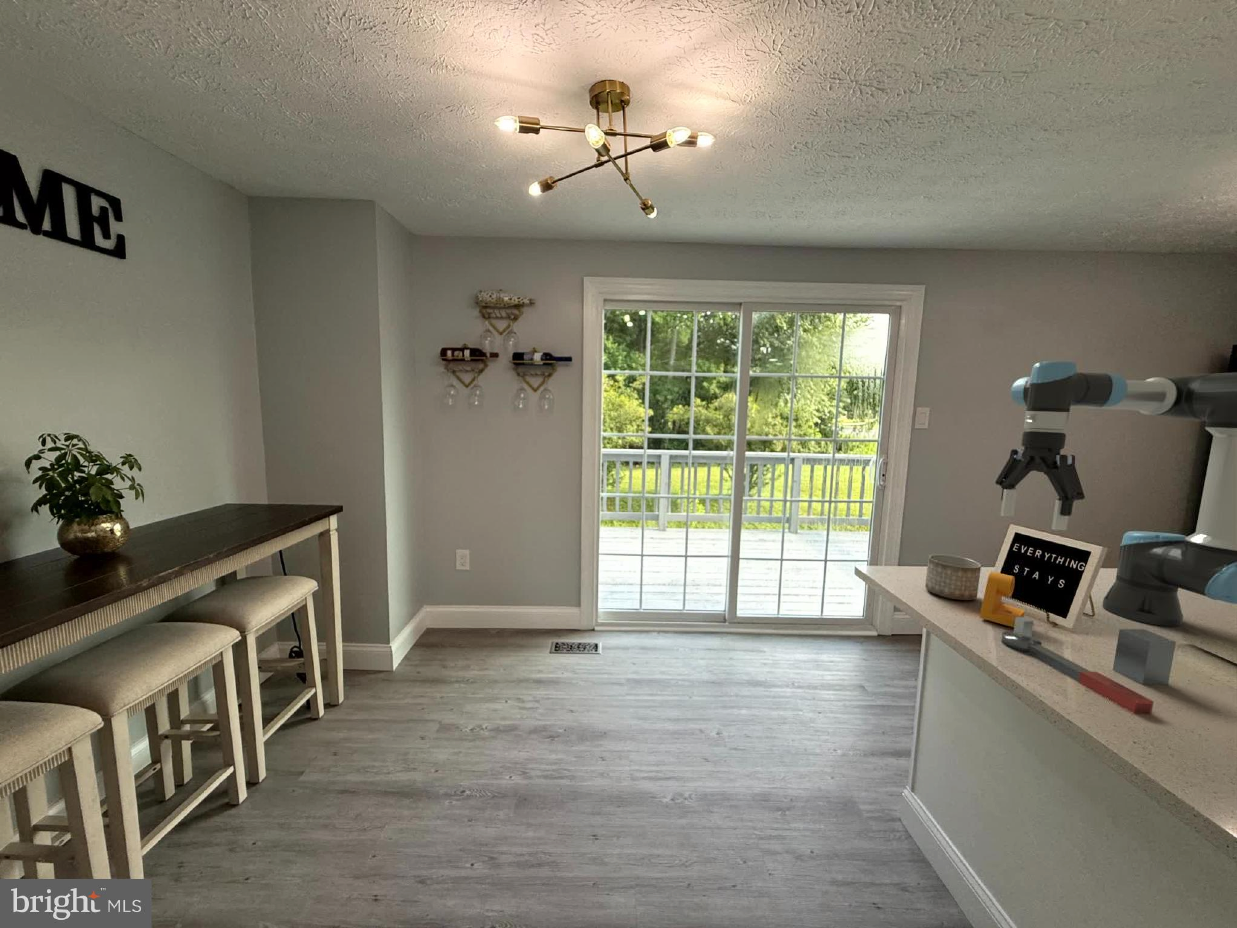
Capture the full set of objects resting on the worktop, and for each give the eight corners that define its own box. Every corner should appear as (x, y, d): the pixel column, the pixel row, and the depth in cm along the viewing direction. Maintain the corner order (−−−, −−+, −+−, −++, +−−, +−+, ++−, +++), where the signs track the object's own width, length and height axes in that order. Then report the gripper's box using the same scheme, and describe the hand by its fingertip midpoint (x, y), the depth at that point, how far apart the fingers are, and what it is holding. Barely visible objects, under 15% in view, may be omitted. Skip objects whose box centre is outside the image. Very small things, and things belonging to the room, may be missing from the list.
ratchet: (993, 639, 117) (997, 612, 116) (1021, 639, 117) (1025, 612, 116) (1124, 714, 88) (1130, 679, 88) (1160, 713, 89) (1166, 679, 88)
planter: (987, 604, 138) (992, 568, 137) (941, 602, 139) (946, 566, 137) (957, 588, 151) (961, 554, 150) (915, 586, 151) (919, 553, 150)
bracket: (1014, 630, 122) (1021, 583, 120) (979, 620, 127) (985, 575, 126) (1024, 619, 129) (1030, 575, 127) (990, 610, 134) (996, 567, 133)
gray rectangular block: (1137, 669, 105) (1144, 629, 104) (1168, 684, 99) (1175, 641, 98) (1112, 669, 104) (1119, 629, 103) (1142, 684, 99) (1150, 641, 98)
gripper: (985, 427, 125) (974, 510, 127) (1083, 433, 100) (1067, 536, 102) (1013, 428, 125) (1002, 511, 128) (1118, 434, 100) (1101, 536, 103)
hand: (1031, 522), depth 115 cm, fingers open, 13 cm apart
